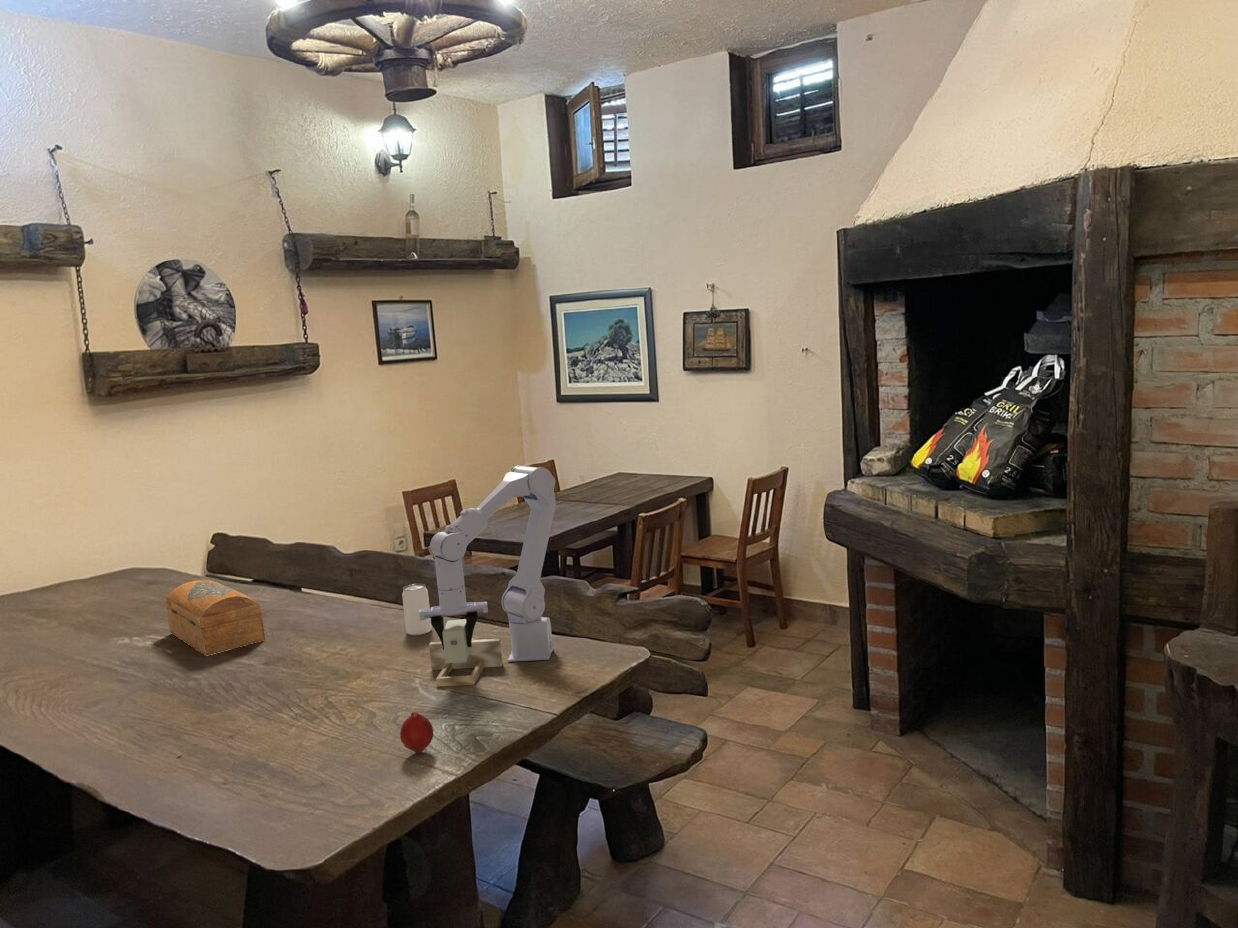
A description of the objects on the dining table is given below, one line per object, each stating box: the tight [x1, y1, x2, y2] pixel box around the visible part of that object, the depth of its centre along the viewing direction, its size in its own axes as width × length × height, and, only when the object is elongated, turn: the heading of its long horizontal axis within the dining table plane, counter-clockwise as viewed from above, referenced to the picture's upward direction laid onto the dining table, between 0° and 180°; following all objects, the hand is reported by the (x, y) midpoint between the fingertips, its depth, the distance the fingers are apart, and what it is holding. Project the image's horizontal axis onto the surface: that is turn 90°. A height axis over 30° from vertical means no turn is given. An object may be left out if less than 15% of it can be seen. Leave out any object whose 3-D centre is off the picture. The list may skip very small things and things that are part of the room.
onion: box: [399, 710, 434, 754], centre depth 162 cm, size 6×6×8 cm
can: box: [401, 583, 433, 636], centre depth 232 cm, size 6×6×12 cm
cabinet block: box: [442, 618, 471, 663], centre depth 196 cm, size 4×8×7 cm, turn 2°
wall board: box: [428, 638, 503, 687], centre depth 199 cm, size 16×12×6 cm
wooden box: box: [165, 579, 266, 656], centre depth 240 cm, size 30×16×14 cm, turn 41°
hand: (457, 647), depth 197 cm, fingers closed on cabinet block, 5 cm apart
